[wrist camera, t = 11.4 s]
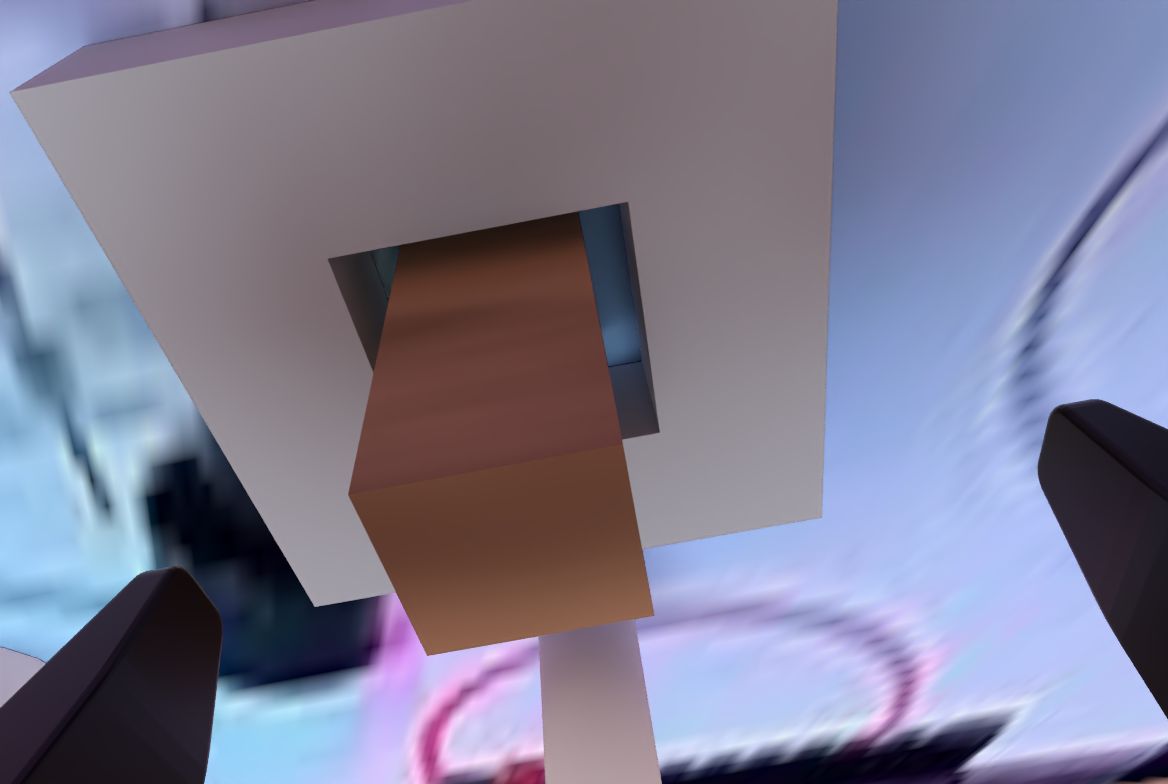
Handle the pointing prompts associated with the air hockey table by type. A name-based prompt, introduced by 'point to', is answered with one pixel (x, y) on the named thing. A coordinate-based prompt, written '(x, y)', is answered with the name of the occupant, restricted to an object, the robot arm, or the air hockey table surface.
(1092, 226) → the air hockey table surface
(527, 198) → the gauge block
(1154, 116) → the air hockey table surface
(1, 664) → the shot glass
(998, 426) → the air hockey table surface
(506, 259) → the brown rectangular block
